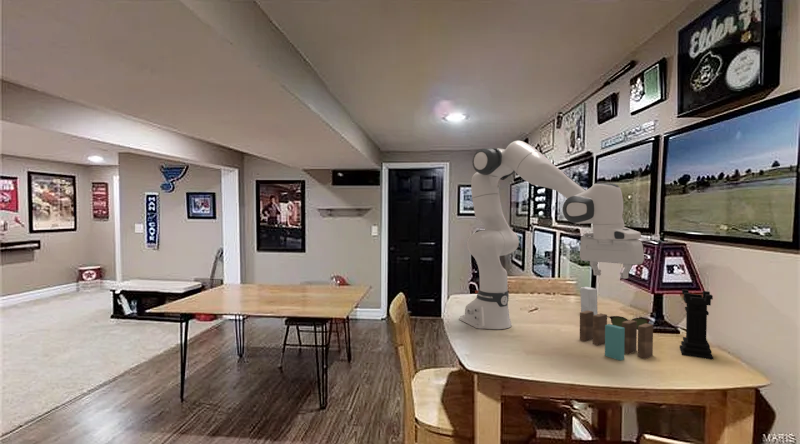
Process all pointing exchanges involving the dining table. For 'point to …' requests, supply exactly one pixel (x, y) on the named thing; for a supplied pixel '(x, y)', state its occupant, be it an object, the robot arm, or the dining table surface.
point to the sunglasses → (618, 320)
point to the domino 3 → (614, 341)
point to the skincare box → (588, 299)
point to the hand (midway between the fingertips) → (610, 276)
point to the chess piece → (696, 325)
